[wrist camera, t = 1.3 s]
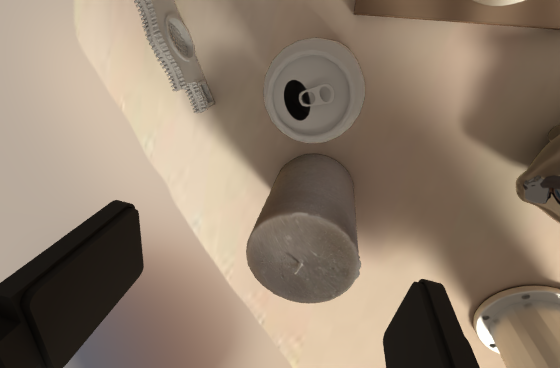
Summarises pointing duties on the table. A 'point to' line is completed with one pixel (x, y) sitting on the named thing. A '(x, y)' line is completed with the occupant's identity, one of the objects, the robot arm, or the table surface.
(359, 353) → the table surface
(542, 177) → the piggy bank
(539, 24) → the board
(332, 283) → the pillar candle
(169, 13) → the lattice window wall
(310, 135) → the can
